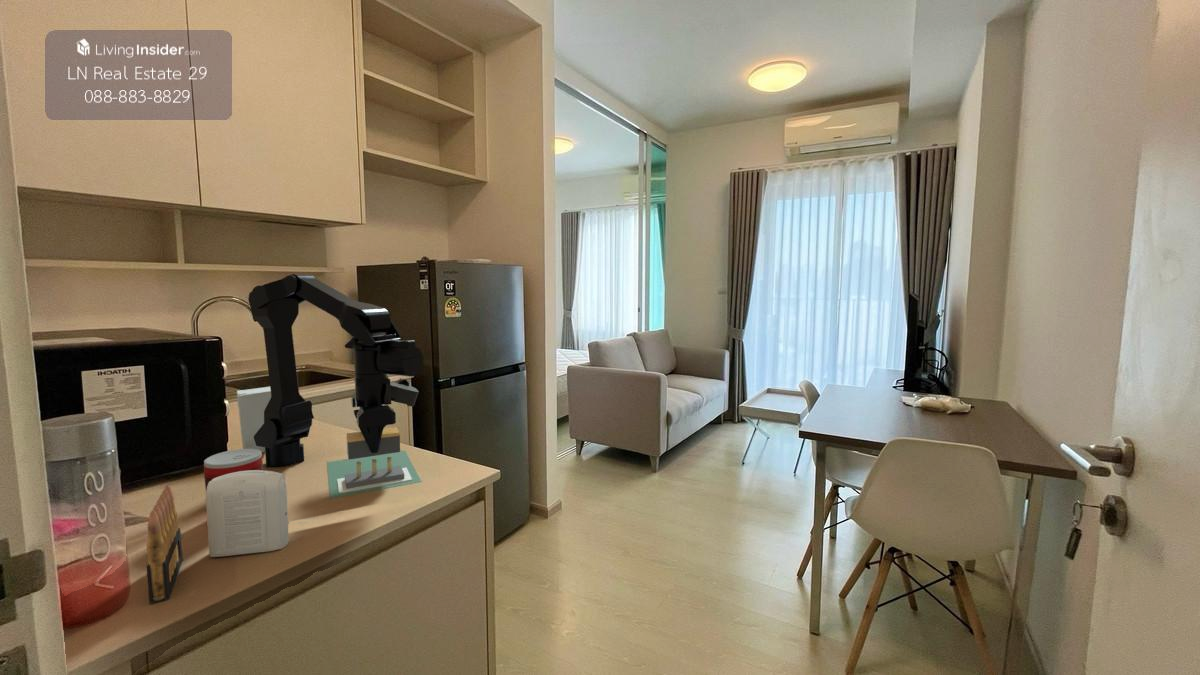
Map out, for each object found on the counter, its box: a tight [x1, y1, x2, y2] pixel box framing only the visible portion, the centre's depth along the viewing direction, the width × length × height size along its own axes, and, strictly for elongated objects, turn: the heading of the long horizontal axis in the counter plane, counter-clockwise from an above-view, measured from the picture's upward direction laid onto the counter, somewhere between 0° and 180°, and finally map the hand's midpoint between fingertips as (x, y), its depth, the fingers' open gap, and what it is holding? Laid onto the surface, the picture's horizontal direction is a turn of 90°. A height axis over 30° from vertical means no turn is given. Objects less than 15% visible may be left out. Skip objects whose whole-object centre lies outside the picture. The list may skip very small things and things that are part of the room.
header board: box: [326, 449, 422, 499], centre depth 101 cm, size 16×20×6 cm
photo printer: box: [205, 469, 290, 558], centre depth 74 cm, size 10×4×12 cm, turn 107°
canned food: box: [203, 448, 264, 491], centre depth 83 cm, size 8×8×11 cm
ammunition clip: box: [146, 484, 184, 605], centre depth 66 cm, size 11×2×12 cm, turn 33°
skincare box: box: [236, 386, 271, 454], centre depth 115 cm, size 8×6×15 cm
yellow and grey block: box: [346, 426, 401, 460], centre depth 96 cm, size 9×4×4 cm, turn 121°
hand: (373, 449), depth 96 cm, fingers closed on yellow and grey block, 4 cm apart
